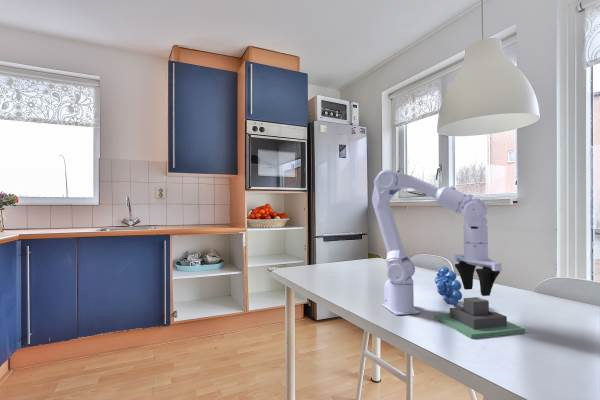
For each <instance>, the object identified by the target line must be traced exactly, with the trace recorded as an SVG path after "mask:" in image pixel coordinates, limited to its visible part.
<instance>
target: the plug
mask: <svg viewBox="0 0 600 400" xmlns="http://www.w3.org/2000/svg"><path fill="white" fill-rule="evenodd" d="M462 298H463V299H462V300H463V307H464V312H466V313H468V314H470V315H472V316H484V315H489V309H490V307H489V306H490V300H489V299H485V298H483V297H479V296H477V297H476V296H475V297H462Z"/></svg>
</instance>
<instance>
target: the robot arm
mask: <svg viewBox="0 0 600 400" xmlns="http://www.w3.org/2000/svg"><path fill="white" fill-rule="evenodd" d="M373 184H374V187H373V191H372V195H371V203H372V207H373V210H374V212H375V217H376V220H377V223H378V226H379V231H380V234H381V237H382V240H383V244H384V247H385V251H386V258H385V262H386V271H385V272H386V275H387V278H388V279H387V280H386V282H385V283H384V288H383V289H384V293H383V294H384V303H382V304H381V305H382V307H384V308H385V309H387V310H389V312H391V313H393V314H394V315H395V316H402V315H403V316H405V315H414V314H420V312H421V311H420V310H418V309H416V308H415V306H414V305H415V303H414V299H415V298H414V293H415V292H414V280H413V278H412V277H413V276H414V274H415V272H416V266H415V264H414V262H412V260H411V259H410V257H409V254H408V253H407V251H406V250H405V249H404V246H403V242H402V239H401V236H400V233H399V229H398V226H397V222H396V219H395V217H394V213H393V210H392V207H391V204H390V201H391V200H392V198H393V197H394V195H395V194H396V193H398V192H399V191H400V190H401V189H412V190H414V191H417V192H419V193H422V194H424V195H427V196H429V197H432V198H434V200H435V201H436V204H437V205H439V206H441V207H443V208H445V209H448V210H450V211H452V212H454V213H456V214H462V216H463V219H464V221H463V222H464V223H463V254H459V253H458V254H454V255H453V256H454V257H453V258H454V261H455V262H457V263H455V264H454V267H455V268H456V270H457V272H458V274H459V277H460V279H461V284H462V286H463V290H468V291H469V290H472V289H473V286H474V273H476V274H477V277H478V280H479V287H480V291H479V292H480V295H481V296H482V297H488V296H491V293H492V289H493V287H494V283H495V281H496V279H497V277H498V276H499V275H500V272H502V269H503V268H502V263H501V262H497V261H495V260H492V259H491V258H489V243H488V242H489V237H488V236H489V235H488V234H489V233H488V232H489V231H488V226H487V223H488V219H487V216H486V215H488V212H489V211H488V209H489V208H488V205H487V204H486V202H485V201H484V200H481V199H480V198H473V196H474V195H473V194H470V193H469V194H466V193H464V192H461V191H459V190H457V187H455V186H453V185H451V186H450V187H449V186H444V187H441V188H439V187H437V186H435V185H432V184H431V183H428V182H426V181H424V180H421V178H417V177H415V176H413V175H409V174H406V173H402V172H397V171H392V170H391V169H383V170H381V171H380V172H379V173H378V174H377V175H376V176H375V179H373ZM476 267H478V268H476ZM479 267H480V268H479Z"/></svg>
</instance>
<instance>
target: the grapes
mask: <svg viewBox="0 0 600 400" xmlns="http://www.w3.org/2000/svg"><path fill="white" fill-rule="evenodd" d="M435 272H436V277H434V278H435V279H434V283H435V285H436V287H437V293H438V294H439V295H440V296H441V297H442V300H443V301H444V302H445V303H446V304H451V305H453V306H457V305H458V304H459V301H460V300H463V299H462V298H463V294H462V292H461V291H460V290H461V289H462V282H461V281H459V280H458V279H457V274H456V272H455V271H454V270H450V268H448V267H447V266H444V265H443V266H442V267H441V268H437V270H436V271H435Z"/></svg>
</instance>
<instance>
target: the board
mask: <svg viewBox="0 0 600 400" xmlns="http://www.w3.org/2000/svg"><path fill="white" fill-rule="evenodd" d="M434 319H436V320H437V321H439V322H441V323H443V324H445V325H446V326H448V327H450V328H452V329H453V330H455V331H457V332H459V333H461V334H462V335H464V336H466V337H467V338H469V339H480V338H489V337H498V336H501V337H502V336H508V335H518V334H526V328H525V327H521V326H519V325H517V324H515V323H512V322H510V321H508V320H507V319H508V316H507V315H503V314H501V313H499V312H497V311H495V310H492V309H490V308H489V315H484V316H472V315H470V314H468V313H466V312H464V306H460V307H459V306H458V307H457V306H455V307H449V313H438V314H434Z"/></svg>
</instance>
